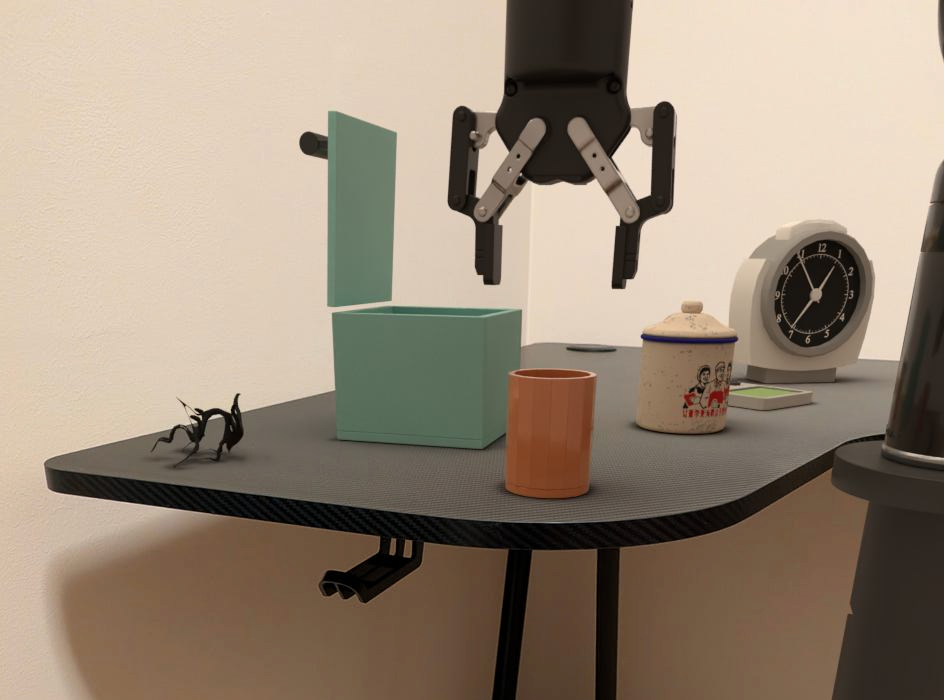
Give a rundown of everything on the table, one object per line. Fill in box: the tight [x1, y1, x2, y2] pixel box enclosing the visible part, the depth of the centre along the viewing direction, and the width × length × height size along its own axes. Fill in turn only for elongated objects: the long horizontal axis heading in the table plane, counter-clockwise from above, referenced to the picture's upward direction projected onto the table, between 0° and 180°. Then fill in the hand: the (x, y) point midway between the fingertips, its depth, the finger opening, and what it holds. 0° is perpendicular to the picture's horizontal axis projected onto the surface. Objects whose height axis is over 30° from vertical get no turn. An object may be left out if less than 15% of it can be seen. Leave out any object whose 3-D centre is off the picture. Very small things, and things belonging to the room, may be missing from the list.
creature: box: [150, 392, 245, 467], centre depth 73 cm, size 8×5×8 cm
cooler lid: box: [298, 110, 398, 308], centre depth 81 cm, size 15×14×5 cm
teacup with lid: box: [635, 300, 738, 435], centre depth 88 cm, size 12×9×12 cm
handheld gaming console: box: [728, 379, 814, 411], centre depth 108 cm, size 10×2×15 cm
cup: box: [504, 368, 598, 499], centre depth 64 cm, size 6×6×8 cm
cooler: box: [331, 305, 523, 450], centre depth 84 cm, size 14×14×11 cm
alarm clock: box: [728, 218, 876, 384], centre depth 122 cm, size 18×8×20 cm, turn 104°
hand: (554, 286), depth 60 cm, fingers open, 8 cm apart
